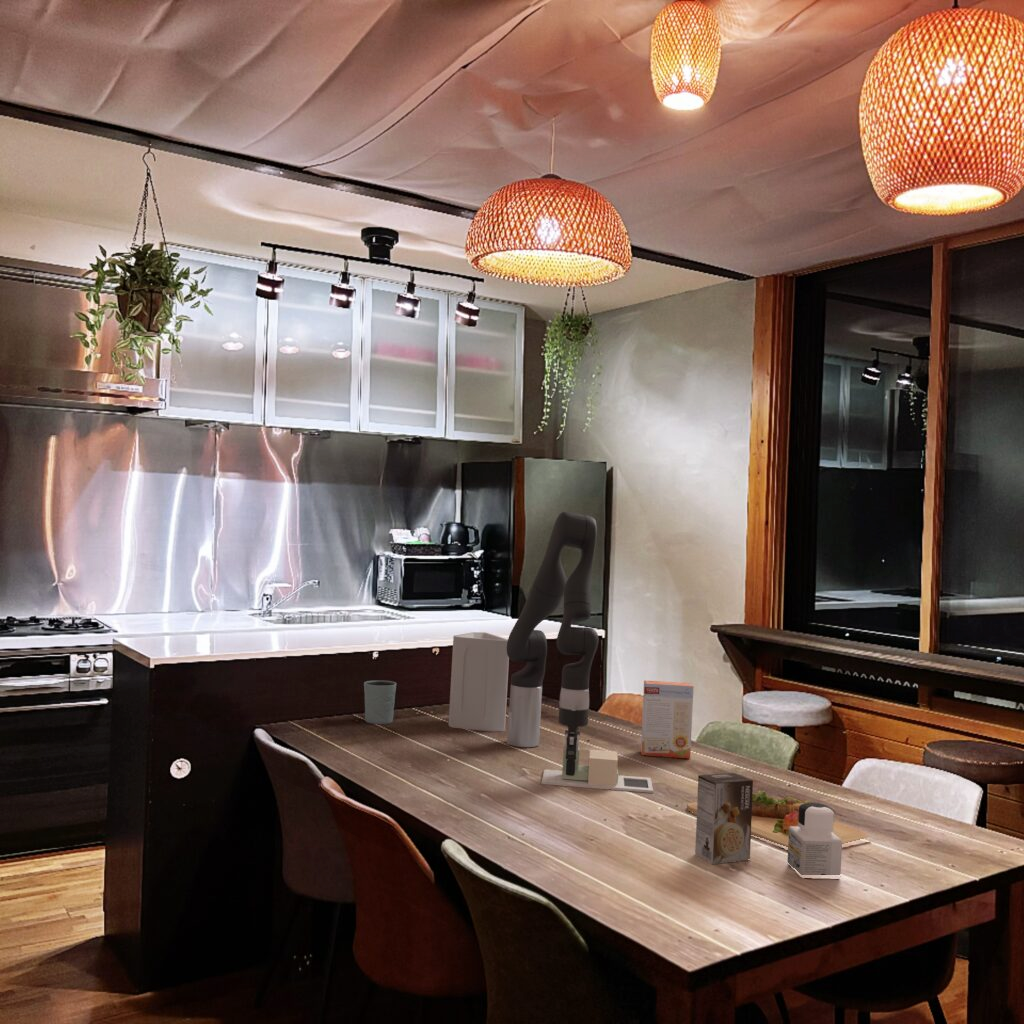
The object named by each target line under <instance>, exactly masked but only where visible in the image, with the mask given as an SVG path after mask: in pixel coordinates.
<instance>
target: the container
mask: <svg viewBox="0 0 1024 1024" xmlns="http://www.w3.org/2000/svg"><path fill="white" fill-rule="evenodd" d="M834 822H835V811H834V810H833V808H832V807H830V806H828V805H827V804H823V803H819V802H812V803H805V804H802V805H800V806H799V818H798V826H799V827H798V826H790V827H789V842H788V851H787V862H788V863H789V864H790V865H791V866H792V867H793V868H795V869H796V870H797V871H798V872H799V873H800V874H801V875H840V874H841V873H842V872H841V871H842V854H843V851H842V850H843V848H842V840H841V839H840V838H839V837H837V836H836V835H835V834H834V833H832V832H833V827H834ZM787 862H786V863H787ZM841 875H842V874H841Z"/></svg>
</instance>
